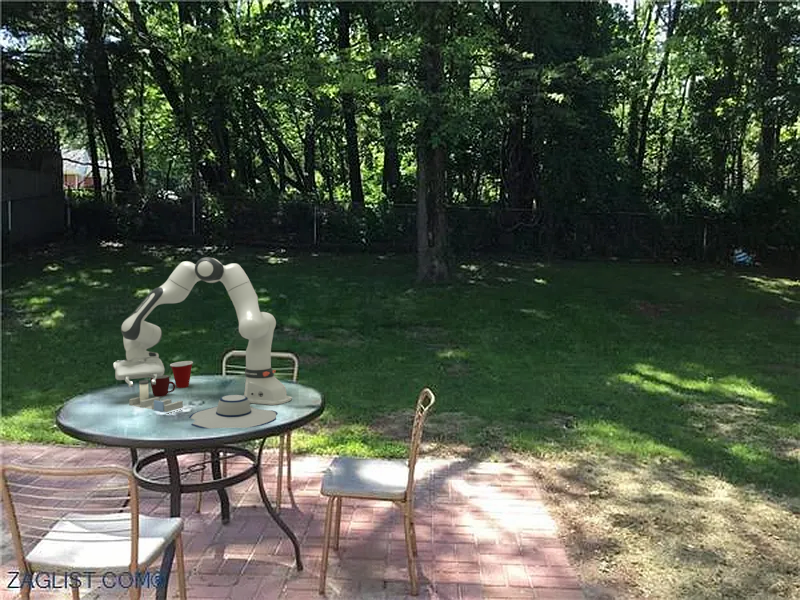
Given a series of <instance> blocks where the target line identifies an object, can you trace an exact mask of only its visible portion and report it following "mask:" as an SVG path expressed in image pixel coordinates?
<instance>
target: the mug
mask: <svg viewBox="0 0 800 600" xmlns="http://www.w3.org/2000/svg"><path fill="white" fill-rule="evenodd" d="M152 379H154V378H153V377H150V386H151V387H150V388H151V391H152V395H153V397H160V398H162V397H166V396H167V395H168V394H169V393H172V392H174V391H175V390H176V383H175V382H174V381H172V380H171V381H170V375H166V374H163V376H157V378H156V384H154V385H152V383H151V381H152ZM170 385H172V389H171V390H169V388H170Z"/></svg>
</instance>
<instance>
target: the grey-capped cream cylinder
mask: <svg viewBox="0 0 800 600" xmlns="http://www.w3.org/2000/svg"><path fill="white" fill-rule="evenodd" d="M138 384H139V397H140V401H143V400H147V399H150V396H149V395H150V394H149V384H150V383H149V380H147V379H145V380H143V379H141V380H139V381H138Z"/></svg>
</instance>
